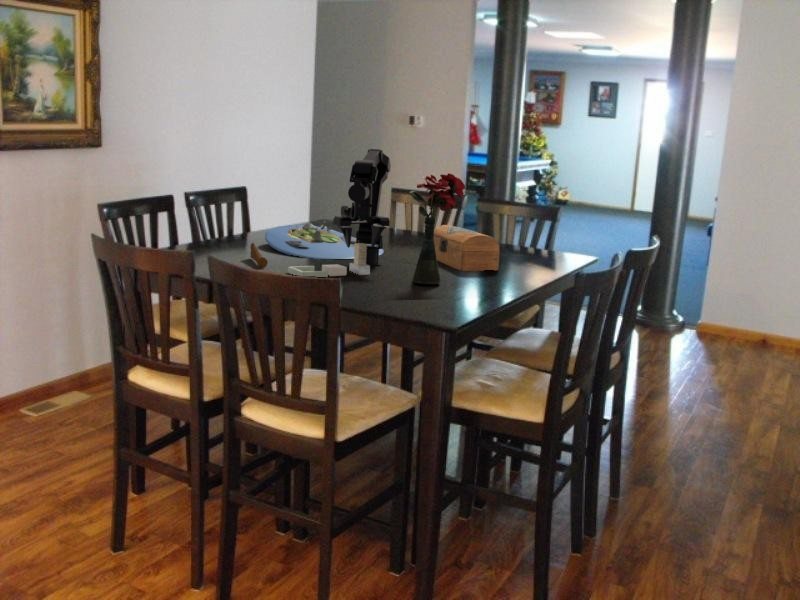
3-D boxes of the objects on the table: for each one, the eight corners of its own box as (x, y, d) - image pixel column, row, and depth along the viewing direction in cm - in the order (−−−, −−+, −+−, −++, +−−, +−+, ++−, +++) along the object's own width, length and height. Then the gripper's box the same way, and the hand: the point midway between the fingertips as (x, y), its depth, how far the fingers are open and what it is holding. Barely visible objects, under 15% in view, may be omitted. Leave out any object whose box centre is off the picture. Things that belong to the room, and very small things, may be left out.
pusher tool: (359, 271, 277) (361, 242, 276) (369, 274, 272) (371, 245, 270) (349, 271, 275) (350, 242, 273) (359, 275, 270) (360, 245, 268)
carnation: (395, 277, 270) (402, 170, 263) (447, 277, 276) (454, 172, 269) (412, 285, 255) (419, 172, 248) (466, 285, 261) (474, 175, 255)
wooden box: (423, 260, 313) (425, 224, 311) (462, 260, 319) (464, 225, 317) (456, 273, 286) (459, 234, 283) (498, 273, 292) (501, 234, 290)
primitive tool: (251, 257, 289) (242, 256, 287) (253, 242, 287) (243, 241, 286) (267, 268, 272) (257, 268, 270) (269, 252, 271) (259, 252, 269)
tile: (337, 273, 273) (338, 264, 272) (346, 276, 268) (346, 267, 267) (321, 273, 269) (321, 264, 269) (330, 276, 265) (330, 267, 264)
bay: (313, 271, 271) (313, 265, 270) (327, 277, 261) (327, 271, 261) (287, 272, 266) (288, 266, 266) (301, 278, 257) (302, 272, 256)
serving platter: (400, 270, 311) (404, 239, 307) (298, 276, 287) (302, 242, 283) (342, 238, 345) (345, 209, 341) (247, 241, 321) (249, 210, 317)
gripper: (375, 198, 280) (373, 243, 283) (326, 197, 271) (324, 244, 274) (392, 201, 271) (389, 247, 274) (341, 200, 261) (339, 249, 265)
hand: (360, 247), depth 272 cm, fingers open, 9 cm apart
